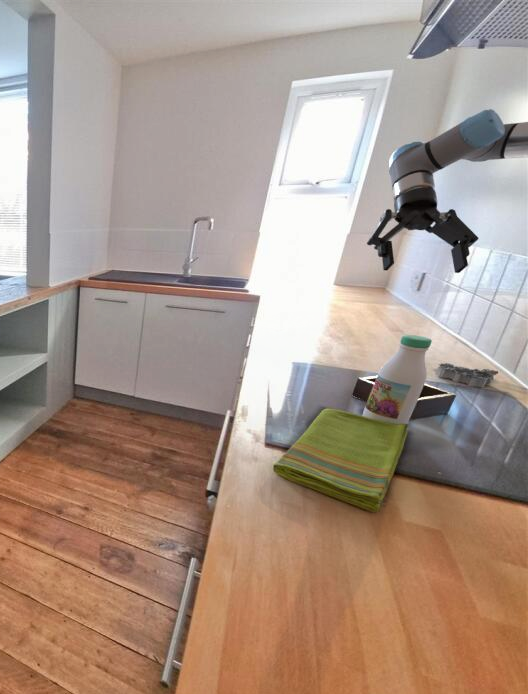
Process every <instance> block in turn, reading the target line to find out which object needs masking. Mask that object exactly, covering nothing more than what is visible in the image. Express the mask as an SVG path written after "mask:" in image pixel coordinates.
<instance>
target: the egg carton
mask: <svg viewBox="0 0 528 694" xmlns="http://www.w3.org/2000/svg"><path fill="white" fill-rule="evenodd" d="M498 374H499V371H498V370H494V369H489V368H487V369H486V368H483V369H479V368H468V367H465V366H456V365H454V364H452V363H448V362H445V363H442V362H441V363H438V367H437V369H436V372H435V375H436V376H437V377H438V378H442V379H449V380H452V382H456V383H463V384H467V385H468V386H469V387H472V388H473V387H475V388H479V389H480V388H484V387H485V386H487V387H490V386H491V384H492V382H493V380H494V378H495V376H497V375H498Z"/></svg>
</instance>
